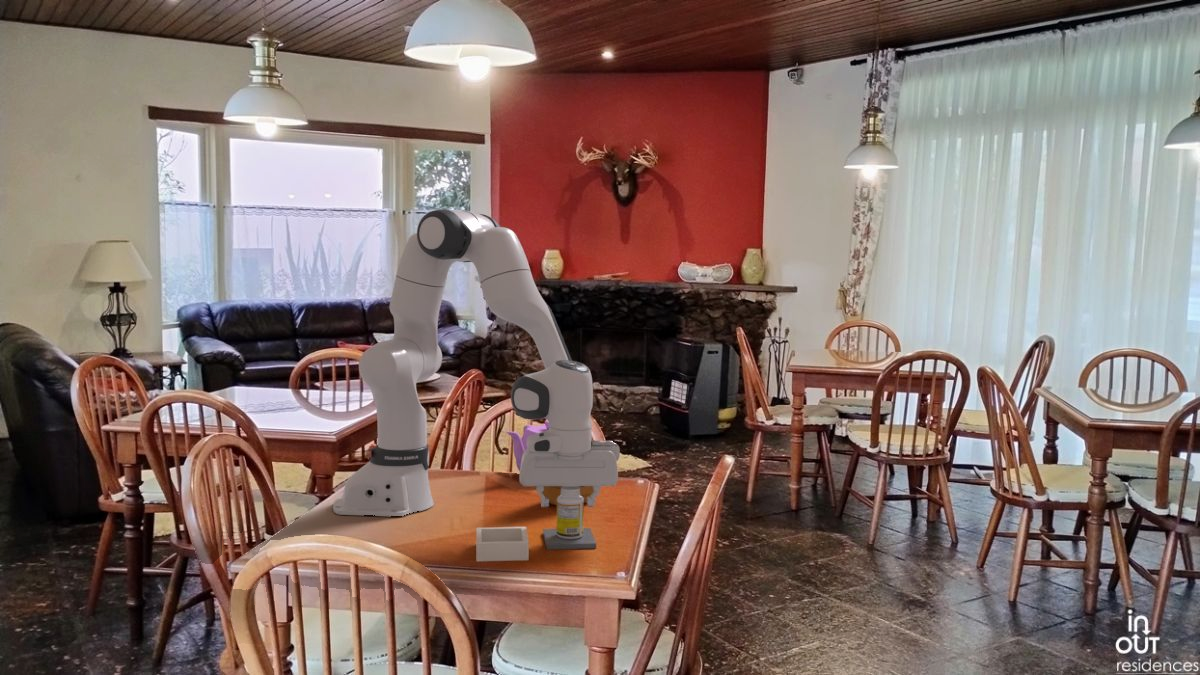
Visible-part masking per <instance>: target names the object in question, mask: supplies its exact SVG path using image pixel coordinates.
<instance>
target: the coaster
mask: <svg viewBox="0 0 1200 675" xmlns="http://www.w3.org/2000/svg"><path fill="white" fill-rule="evenodd" d="M542 535H543V538H544V543H545V547H546V550H571V549H572V550H574V549H575V550H576V549H577V550H578V549H579V550H581V549H597V541H596V539H595V536H594V534H593V532H592V529H591V528H590V527H583V535H582V537H580V538H578V539H562V538H560V537H558V536H557V528H544V529H542Z"/></svg>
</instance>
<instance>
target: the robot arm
mask: <svg viewBox="0 0 1200 675" xmlns="http://www.w3.org/2000/svg"><path fill="white" fill-rule="evenodd" d="M456 262H457V263H459V262H460V263H473V265H474V267H475V269H476V272H477V276H478V280H479V285H480V288H481V293H482V295H483V298H484V302H485V303H486V305H487V307H488V308H489V310H490V312H491V313H492V314H494V315H495V316H496V317H498V318H499V319H501V320H504V321H506V322H509V323H511V324H513V325H516V326H518V327H520V328H521V329H522V330H524V331H526V332H527V333H528V334H529V335H530V337H531V338H532V339H533V341H534V343H535V346H536V348H537V350H538V353H539V356H540V358H541V361H542V363H543V366H544V369H542V370H538V371H537V372H532V373H528V374H525V375H523V376H520V377H518V378H517V379H516V380H514V383H513V385H512V387H511V390H510V401H511V403H510V404H511V405H512V408H513V410H514V412H515V414H516V415H517V416H519V417H520V418H522V419H524V420H531V421H533V420H535V421H536V420H541V419H545V420H546V421H547V420H548V421H549V430H546V431H543V432H540V433H536V434H533V435H530V436H528V438H527V449H526V450H525V451H524V453H523V455H522V459H521V465H520V471H519V476H518V478H519V483H520V484H521V485H522V486H523V487H536V488H535V489H536V492H537V494H538V496H539V498H540V499H541V500H540V506H541V508H549V507H550V504H549V497H544V495H543V493H542V491H544V486H593V490H594V492H593V493H592V495H591V497H587V502H586V507H587V508H594V507H596V506H595V505H596V503H595V501H596V499H597V498H598V496H599V494H600V492H601V487H614V486H616V484H617V483H618V481H619V473H618V472H619V471H618V470H619V469H618V463H617V462H618V461H619V459H620V457H621V456H620V451H621V450H620V449H621V448H620V446H619V445H618V444H617V443H615V442H613V440H594V439H593V441H592V440H591V437H592V438H593V436H592V435H593V434H592V432H593V430H592V428H593V425H592V420H591V412H592V409H593V406H594V405H593V403H594V398H593V395H594V391H593V390H594V388H593V377H592V373H591V370H590V368H589V366H588V365H585V364H584V363H582V362H579V361H576V360H573V359H572V357H571V353H570V352H569V350H568V347H567V345H566V342H565V340H564V337H563V335H562V332H561V329H560V327H559V325H558V323H557V320H556V317H555V315H554V312H552V309H551V307H550V306H549V305H548V303H547V302H546V301H545V299H544V298H543V297H542V295H541V293H540V292H539V289H538V287H537V285H536V283H535V280H534V278H533V274H532V271H531V268H530V265H529V260H528V258H527V255H526V253H525V251H524V247H523V246H522V244H521V242H520V240H519V238H518V236H517V234H516V233H515V232H514V231H513V230H512V229H510V228H508V227H503V226H501V225H500V224H499V223H498V221H496V219H494V218H492V217H491V216H489V215H486V214H484V213H483V214H482V213H477V212H473V211H468V210H450V209H446V208H443V209H440V208H439V209H435V210H431V211H429V212H427V213H425V215H423V216H422V217H421V219H420V220H419V222H418V225H417V227H416V232H414V233H413V234H412V235H410V236H409V238H408V240H407V242H406V244H405V246H404V249H403V251H402V254H401V257H400V260H399V264H398V267H397V271H396V275H395V279H394V284H393V288H392V291H391V292H392V293H391V297H390V301H389V311H390V313H391V315H392V317H393V323H394V324H393V325H394V329H393V330H394V333H393V337H392V339H388V340H382V341H379V342H377V343H375V344H373V345H371V346H370V347H369V348H367V349H366V350H365V351H364V352H363V353H362V354H361V356H360V358H359V361H358V371H359V375H360V378H361V380H362V381H363V382H364V383H365V384H366V386H368V387H369V389H370V392H371V395H372V397H373V401H374V405H375V410H376V417H377V418H376V420H377V423H376V424H377V444H376V443H371V444H370V445H369V446H368V449H367V450H368V461H369V462H367V463H365V465H363V466H362V467H360V468H359V469H358V470H357V471H355V472H354V473H353V474H352V475H351V476H349V478H348V479H347V480H346V482H345V483H344V484H345V485H344V488H343V495H342V496H339V497H338V498H336V499H335V500H334V502H333V504H332V505H333V506H332V511H333V513H335V514H336V515H343V516H344V515H345V516H364V515H373V517H391V516H402V517H404V515H405V516H407V515H406V514H408V515H410V514H414V513H418V512H417V511H419V512H423V511H425V510H426V511H427V510H428V509H430V508H432V507H433V506H434V503H435V502H434V500H433V497H432V492H431V486H430V481H429V473H428V471H429V470H428V469H429V466H430V449H429V444H428V443H427V442H428V440H427V434H428V433H427V430H428V428H427V424H428V422H427V421H428V419H427V418H428V417H427V416H428V414H427V410H426V408H425V407H424V406H422V404H421V401H420V398H419V394H418V391H417V383H421V382H425V381H426V380H428V379H429V378H431V377H432V376H433V375H435V373H437V372H438V371H439V370H440V368H441V367H442V362H443V353H442V350H441V347H440V346H439V341H438V340H439V339H438V337H439V336H438V334H439V332H438V328H439V327H438V326H439V325H438V323H439V315H440V310H441V305H442V300H443V296H444V294H445V289H446V284H447V278H448V273H449V270H450V268H451V267H452V265H453V264H455V263H456ZM591 445H592V446H591ZM413 512H414V513H413ZM409 513H410V514H409ZM374 515H375V516H374Z"/></svg>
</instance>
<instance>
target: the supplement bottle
mask: <svg viewBox="0 0 1200 675" xmlns="http://www.w3.org/2000/svg"><path fill="white" fill-rule="evenodd" d="M560 493H561V495H560V496H559V497H558V498H557V505H556V529H557V536H558V537H560V538H562V539H578V538H580V537H582V535H583V528H584V519H585V518H584V512H585V511H584V507H585V506H584V505H585V503H584V499H583V497H582V496H580V487H578V486H563V487H561V492H560Z"/></svg>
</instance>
